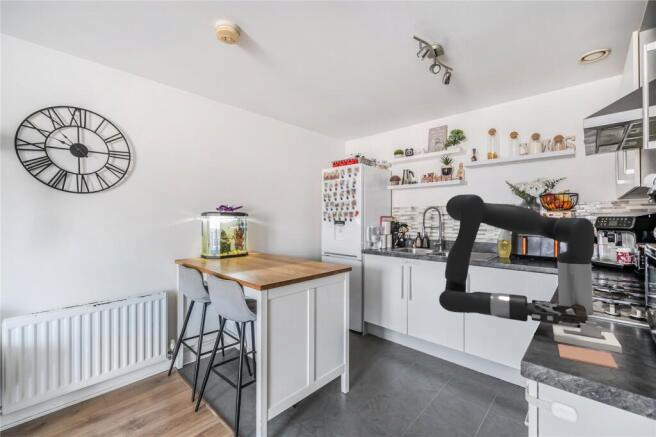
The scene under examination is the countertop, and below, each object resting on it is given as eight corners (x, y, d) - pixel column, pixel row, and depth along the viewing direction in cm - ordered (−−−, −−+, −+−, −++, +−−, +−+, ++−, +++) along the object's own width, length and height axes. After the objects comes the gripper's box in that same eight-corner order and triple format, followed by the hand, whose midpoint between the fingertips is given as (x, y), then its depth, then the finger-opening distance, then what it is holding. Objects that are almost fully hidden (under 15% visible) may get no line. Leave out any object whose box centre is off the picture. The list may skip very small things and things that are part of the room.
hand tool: (570, 314, 100) (570, 301, 100) (586, 316, 97) (585, 303, 97) (571, 332, 85) (570, 316, 85) (589, 335, 82) (588, 318, 83)
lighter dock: (552, 329, 86) (552, 324, 86) (612, 338, 79) (612, 333, 79) (554, 341, 78) (554, 335, 78) (621, 352, 71) (621, 346, 71)
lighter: (601, 342, 77) (600, 312, 77) (601, 344, 75) (600, 314, 76) (567, 335, 82) (566, 307, 82) (566, 337, 80) (565, 308, 80)
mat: (557, 345, 76) (557, 343, 76) (610, 355, 70) (610, 353, 70) (560, 357, 69) (560, 356, 69) (618, 369, 63) (618, 367, 63)
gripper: (506, 299, 83) (580, 308, 74) (509, 289, 95) (574, 295, 85) (507, 325, 83) (581, 337, 73) (510, 312, 94) (575, 321, 85)
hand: (577, 315), depth 79 cm, fingers open, 8 cm apart
